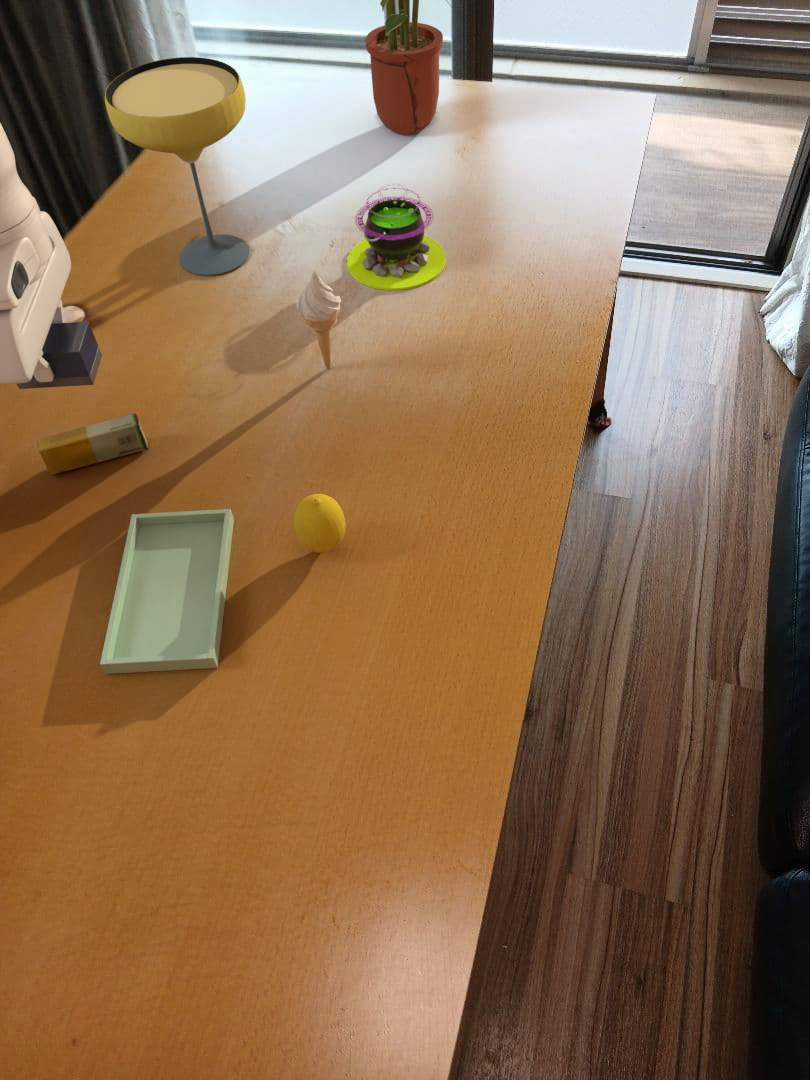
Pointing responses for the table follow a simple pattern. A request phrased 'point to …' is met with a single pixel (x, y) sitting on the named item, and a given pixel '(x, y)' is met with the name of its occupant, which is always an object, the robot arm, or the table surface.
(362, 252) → the toy cauldron
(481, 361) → the table surface
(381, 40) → the potted plant
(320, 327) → the ice cream cone
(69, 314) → the white rounded oval piece
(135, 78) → the cocktail glass
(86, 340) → the eraser
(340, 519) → the lemon
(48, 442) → the medication box
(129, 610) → the tray
